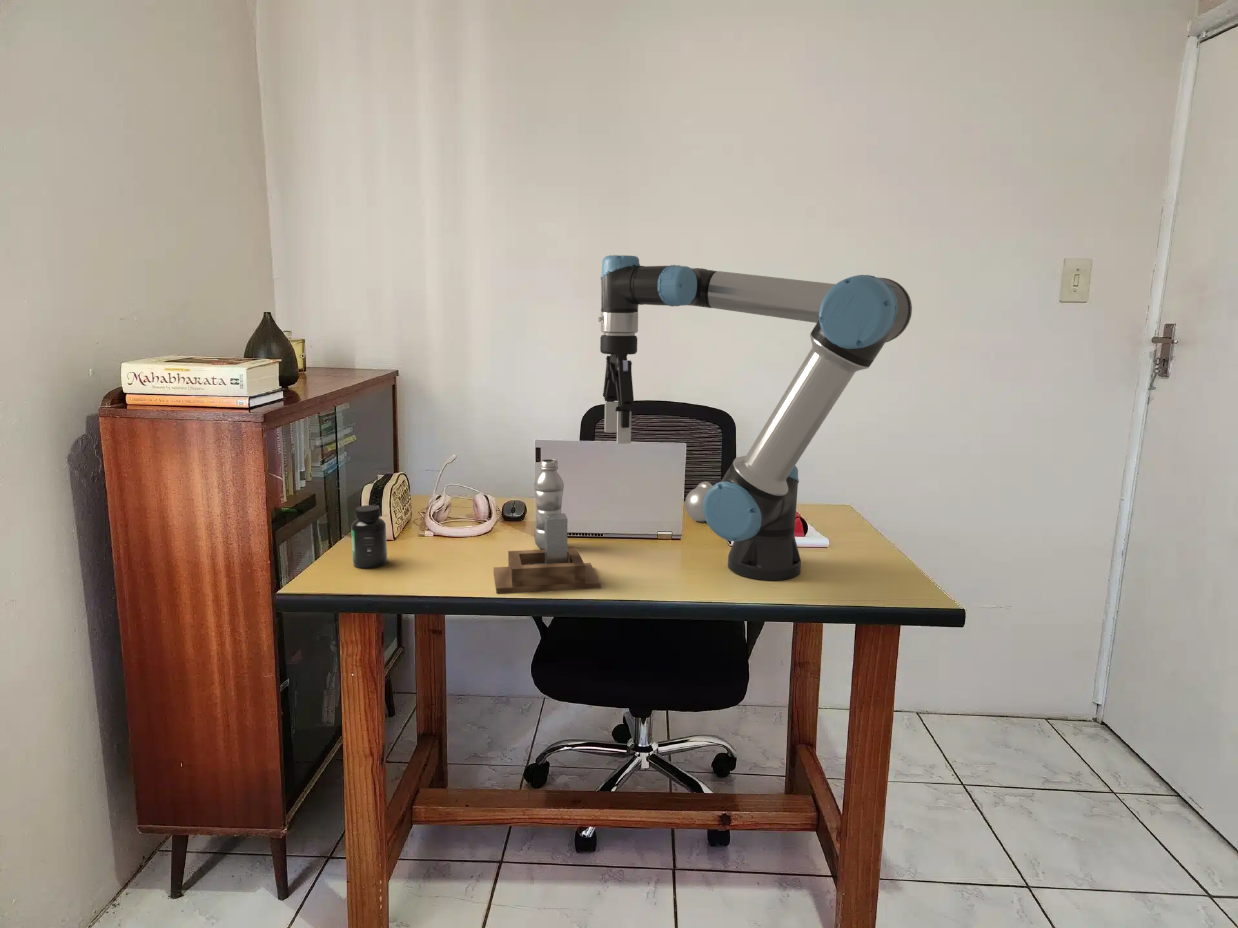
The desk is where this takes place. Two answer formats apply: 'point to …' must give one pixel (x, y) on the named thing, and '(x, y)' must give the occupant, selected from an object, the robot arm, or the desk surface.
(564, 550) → the bracket
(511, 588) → the well
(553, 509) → the plastic bottle
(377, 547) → the supplement bottle
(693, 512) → the silver pear shape
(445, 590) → the desk surface
